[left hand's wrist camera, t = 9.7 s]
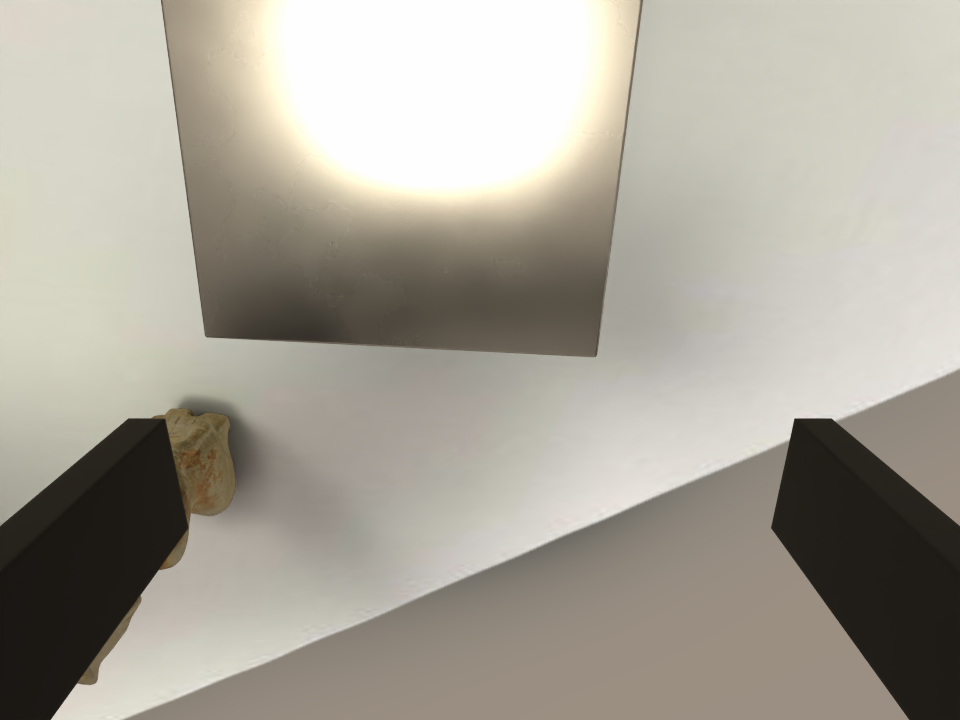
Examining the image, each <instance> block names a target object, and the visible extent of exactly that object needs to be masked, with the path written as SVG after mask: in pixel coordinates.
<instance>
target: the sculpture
mask: <svg viewBox="0 0 960 720" xmlns="http://www.w3.org/2000/svg"><path fill="white" fill-rule="evenodd" d="M151 419H166V424H167V429H168V433H169V438H170V443H171V447H172V452H173V456H174V461H175V466H176V470H177V475H178V480H179V484H180V489H181V494H182V498H183V503H184V508H185V512H186V517H187V522H188V526H189V522H190V514H191V513H194V514H199V515H204V516H214V515H217V514H219V513H221V512H222V511H223V510H225V509H226V508H227V507H228V506H229V504H230V503H231V501H232V498H233V495H234V492H235V472H234V466H233V461H232V457H231V453H230V450H229V446H228V431H229V429H230V422H229V419H228V417H227V416H225V415H221V414H216V413H210V412H208V413H205V414H203V415H200V416H194V414H193V413H192V411H191V410H188V409H170V410H169V411H168V412H167V413H166V414H165V415H158V416H154V417H152V418H151ZM188 534H189V528H188V530H187V531H186V533H185V534H184V535H183V537H182V538H181V540H180V541H179V542H178V544H177V545H176V546H175V548H174V549H173V551H172V552H171V553H170V555H169V556H168V558H167V559H166V560H165V562H164V563H163V565H162V566H161V567H160V569H159V570H162V569H167V568H170V567H173V566H174V565H176V564H177V563H178V562H179V561H180V560H181V558H182V556H183V554H184V551H185V548H186V545H187V540H188ZM140 603H141V596H139V598H138V599H137V601H136V602H135V603H134V605H133V606H132V608H131V609H130V610H129V612H128V613H127V614H126V616H125V617H124V619H123V620H122V621H121V623H120V624H119V626H118V627H117V628H116V630H115V631H114V633H113V634H112V635H111V637H110V638H109V639H108V641H107V642H106V644H105V645H104V646H103V648H102V649H101V651H100V652H99V653H98V655H97V656H96V658H95V659H94V660H93V662H92V663H91V664H90V666H89V667H88V669H87V670H86V671H85V673H84V674H83V676H82V677H81V678H80V680H79V681H78V682H77V683H78V684H84V685H92V684H95V683H96V682H97V680H98V671H99V666H100V664H101V662H102V661H103V659H104V658H105V657H106V656H107V655H108V654H109V652H110V651H111V650H112V649H113V648H114V646H115V645H116V644H117V642H118V641H119V639H120V638H121V637H122V635H123V634H124V633H125V631H126V630H127V628H128V625H129V623H130V620H131V617H132V616H133V614H134V612H135V611H136V609H137V608H138V606H139V605H140Z"/></svg>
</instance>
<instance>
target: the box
mask: <svg viewBox="0 0 960 720" xmlns="http://www.w3.org/2000/svg"><path fill="white" fill-rule="evenodd" d="M161 4H162V11H163V19H164V27H165V34H166V42H167V49H168V57H169V65H170V72H171V80H172V87H173V95H174V103H175V110H176V118H177V125H178V133H179V141H180V148H181V156H182V163H183V171H184V179H185V186H186V194H187V201H188V209H189V217H190V224H191V232H192V239H193V247H194V255H195V262H196V270H197V278H198V285H199V293H200V300H201V308H202V316H203V323H204V331H205V336H206V337H211V338H230V339H250V340H269V341H289V342H308V343H328V344H347V345H367V346H386V347H406V348H425V349H445V350H464V351H484V352H503V353H523V354H542V355H562V356H581V357H596V356H597V352H598V344H599V336H600V328H601V321H602V313H603V305H604V298H605V290H606V282H607V274H608V267H609V259H610V251H611V244H612V236H613V228H614V221H615V213H616V205H617V197H618V190H619V182H620V174H621V167H622V159H623V151H624V143H625V136H626V128H627V120H628V113H629V105H630V97H631V89H632V82H633V74H634V66H635V59H636V51H637V43H638V35H639V28H640V20H641V12H642V5H643V0H161Z"/></svg>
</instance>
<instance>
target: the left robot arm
mask: <svg viewBox="0 0 960 720" xmlns="http://www.w3.org/2000/svg"><path fill="white" fill-rule="evenodd" d="M188 528H189V526H188V522H187V517H186V512H185V508H184V503H183V498H182V494H181V489H180V484H179V480H178V475H177V470H176V466H175V461H174V456H173V452H172V447H171V443H170V438H169V433H168V429H167V424H166V419H127V420H126V421H125V422H124V423H123V424H121V425H120V426H119V427H118V428H117V429H116V430H114V431H113V432H112V433H111V434H110V435H108V436H107V437H106V438H105V439H104V440H102V441H101V442H100V443H99V444H98V445H96V446H95V447H94V448H93V449H92V450H90V451H89V452H88V453H87V454H86V455H85V456H83V457H82V458H81V459H80V460H79V461H77V462H76V463H75V464H74V465H73V466H71V467H70V468H69V469H68V470H67V471H65V472H64V473H63V474H62V475H61V476H59V477H58V478H57V479H56V480H55V481H54V482H52V483H51V484H50V485H49V486H48V487H46V488H45V489H44V490H43V491H42V492H40V493H39V494H38V495H37V496H36V497H34V498H33V499H32V500H31V501H30V502H28V503H27V504H26V505H25V506H24V507H23V508H21V509H20V510H19V511H18V512H17V513H15V514H14V515H13V516H12V517H11V518H9V519H8V520H7V521H6V522H5V523H3V524H2V525H1V526H0V720H51V719H52V717H53V716H54V714H55V713H56V712H57V710H58V709H59V707H60V706H61V705H62V703H63V702H64V701H65V699H66V698H67V696H68V695H69V694H70V692H71V691H72V689H73V688H74V687H75V685H76V684H77V682H78V681H79V680H80V678H81V677H82V676H83V674H84V673H85V671H86V670H87V669H88V667H89V666H90V664H91V663H92V662H93V660H94V659H95V658H96V656H97V655H98V653H99V652H100V651H101V649H102V648H103V646H104V645H105V644H106V642H107V641H108V639H109V638H110V637H111V635H112V634H113V633H114V631H115V630H116V628H117V627H118V626H119V624H120V623H121V621H122V620H123V619H124V617H125V616H126V614H127V613H128V612H129V610H130V609H131V608H132V606H133V605H134V603H135V602H136V601H137V599H138V598H139V596H140V595H141V594H142V592H143V591H144V590H145V588H146V587H147V585H148V584H149V583H150V581H151V580H152V578H153V577H154V576H155V574H156V573H157V571H158V570H159V569H160V567H161V566H162V565H163V563H164V562H165V560H166V559H167V558H168V556H169V555H170V553H171V552H172V551H173V549H174V548H175V546H176V545H177V544H178V542H179V541H180V540H181V538H182V537H183V535H184V534H185V533H186V531H187V530H188ZM771 528H772V530H773V531H774V533H775V534H776V535H777V537H778V538H779V540H780V541H781V542H782V544H783V545H784V546H785V548H786V549H787V551H788V552H789V553H790V555H791V556H792V558H793V559H794V560H795V562H796V563H797V565H798V566H799V567H800V569H801V570H802V571H803V573H804V574H805V576H806V577H807V578H808V580H809V581H810V582H811V584H812V585H813V587H814V588H815V589H816V591H817V592H818V594H819V595H820V596H821V598H822V599H823V601H824V602H825V603H826V605H827V606H828V608H829V609H830V610H831V612H832V613H833V614H834V616H835V617H836V619H837V620H838V621H839V623H840V624H841V626H842V627H843V628H844V630H845V631H846V632H847V634H848V635H849V637H850V638H851V639H852V641H853V642H854V644H855V645H856V646H857V648H858V649H859V651H860V652H861V653H862V655H863V656H864V657H865V659H866V660H867V662H868V663H869V664H870V666H871V667H872V669H873V670H874V671H875V673H876V674H877V676H878V677H879V678H880V680H881V681H882V682H883V684H884V685H885V687H886V688H887V689H888V691H889V692H890V694H891V695H892V696H893V698H894V699H895V701H896V702H897V703H898V705H899V706H900V707H901V709H902V710H903V712H904V713H905V714H906V716H907V717H908V719H909V720H960V526H959V525H958V524H957V523H955V522H954V521H953V520H952V519H951V518H949V517H948V516H947V515H946V514H945V513H943V512H942V511H941V510H940V509H939V508H937V507H936V506H935V505H934V504H933V503H931V502H930V501H929V500H928V499H927V498H926V497H924V496H923V495H922V494H921V493H920V492H918V491H917V490H916V489H915V488H914V487H912V486H911V485H910V484H909V483H908V482H906V481H905V480H904V479H903V478H902V477H900V476H899V475H898V474H897V473H896V472H895V471H893V470H892V469H891V468H890V467H889V466H887V465H886V464H885V463H884V462H883V461H881V460H880V459H879V458H878V457H877V456H875V455H874V454H873V453H872V452H871V451H870V450H868V449H867V448H866V447H865V446H864V445H862V444H861V443H860V442H859V441H858V440H856V439H855V438H854V437H853V436H852V435H850V434H849V433H848V432H847V431H846V430H844V429H843V428H842V427H841V426H840V425H839V424H837V423H836V422H835V421H834V420H833V419H794V424H793V429H792V433H791V438H790V442H789V447H788V452H787V456H786V461H785V466H784V470H783V475H782V480H781V484H780V489H779V494H778V498H777V503H776V508H775V513H774V517H773V522H772V526H771Z"/></svg>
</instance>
